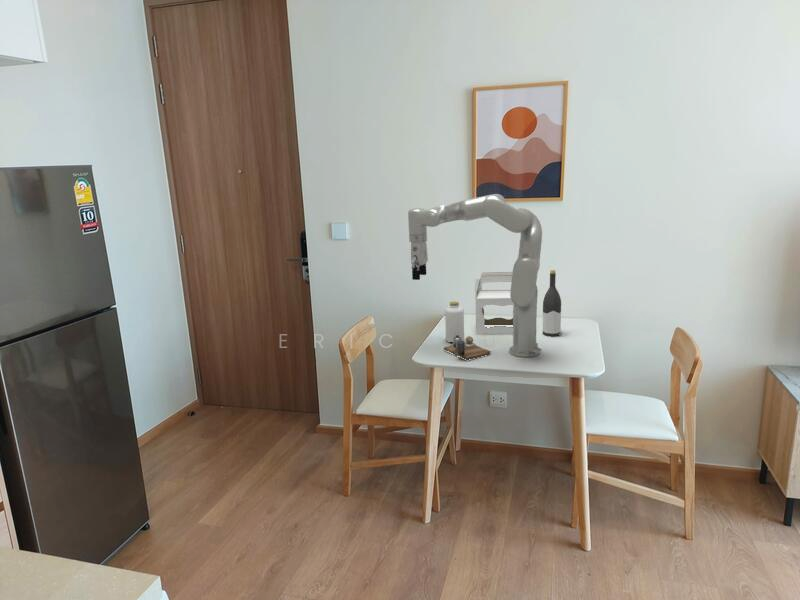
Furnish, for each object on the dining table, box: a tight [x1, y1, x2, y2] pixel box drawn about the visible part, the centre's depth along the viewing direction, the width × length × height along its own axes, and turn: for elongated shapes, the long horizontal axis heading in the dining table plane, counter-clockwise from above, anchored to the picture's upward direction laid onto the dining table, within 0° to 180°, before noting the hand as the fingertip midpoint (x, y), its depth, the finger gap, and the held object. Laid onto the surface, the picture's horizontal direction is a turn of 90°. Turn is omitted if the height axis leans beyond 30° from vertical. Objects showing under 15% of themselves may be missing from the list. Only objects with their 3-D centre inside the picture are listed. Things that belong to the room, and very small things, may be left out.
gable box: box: [474, 271, 513, 335], centre depth 266 cm, size 22×13×28 cm, turn 83°
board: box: [443, 335, 491, 361], centre depth 240 cm, size 16×12×6 cm
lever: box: [452, 337, 466, 355], centre depth 238 cm, size 15×4×5 cm, turn 1°
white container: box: [444, 301, 465, 343], centre depth 254 cm, size 8×8×18 cm
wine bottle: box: [542, 269, 562, 338], centre depth 256 cm, size 8×8×30 cm
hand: (419, 277), depth 245 cm, fingers open, 9 cm apart
